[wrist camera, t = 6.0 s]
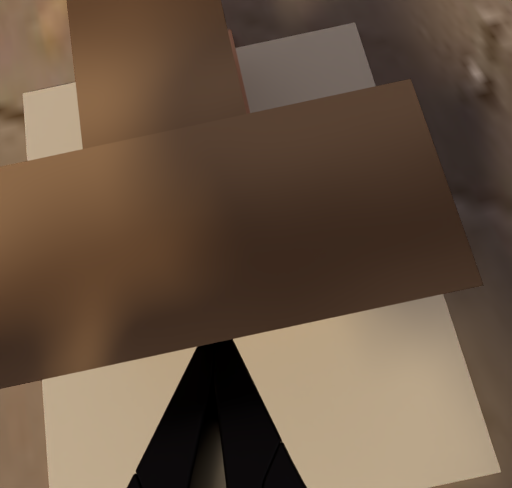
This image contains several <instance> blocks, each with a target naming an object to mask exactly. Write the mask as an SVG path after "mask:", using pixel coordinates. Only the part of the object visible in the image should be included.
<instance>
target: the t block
mask: <svg viewBox="0 0 512 488" xmlns="http://www.w3.org/2000/svg"><path fill="white" fill-rule="evenodd" d="M67 8H68V17H69V26H70V36H71V45H72V54H73V64H74V73H75V82H76V91H77V101H78V110H79V119H80V129H81V138H82V147H83V149H81V150H76V151H72V152H67V153H62V154H58V155H53V156H48V157H44V158H39V159H34V160H30V161H25V162H20V163H16V164H11V165H6V166H2V167H0V389H1V388H6V387H11V386H15V385H20V384H25V383H30V382H34V381H39V380H44V379H48V378H53V377H58V376H62V375H67V374H72V373H76V372H81V371H86V370H90V369H95V368H100V367H104V366H109V365H114V364H118V363H123V362H128V361H132V360H137V359H142V358H146V357H151V356H156V355H160V354H165V353H170V352H174V351H179V350H184V349H188V348H193V347H198V346H202V345H207V344H212V343H216V342H221V341H226V340H231V339H235V338H240V337H245V336H249V335H254V334H259V333H263V332H268V331H273V330H277V329H282V328H287V327H291V326H296V325H301V324H305V323H310V322H315V321H319V320H324V319H329V318H333V317H338V316H343V315H347V314H352V313H357V312H361V311H366V310H371V309H375V308H380V307H385V306H389V305H394V304H399V303H403V302H408V301H413V300H417V299H422V298H427V297H431V296H436V295H441V294H446V293H450V292H455V291H460V290H464V289H469V288H474V287H478V286H483V282H482V279H481V276H480V274H479V271H478V268H477V265H476V262H475V259H474V257H473V254H472V251H471V248H470V245H469V242H468V240H467V237H466V234H465V231H464V228H463V225H462V223H461V220H460V217H459V214H458V211H457V208H456V206H455V203H454V200H453V197H452V194H451V191H450V189H449V186H448V183H447V180H446V177H445V174H444V172H443V169H442V166H441V163H440V160H439V157H438V155H437V152H436V149H435V146H434V143H433V140H432V138H431V135H430V132H429V129H428V126H427V123H426V121H425V118H424V115H423V112H422V109H421V107H420V104H419V101H418V98H417V95H416V92H415V90H414V87H413V84H412V81H411V79H407V80H402V81H398V82H393V83H388V84H384V85H379V86H375V87H370V88H365V89H361V90H356V91H351V92H347V93H342V94H337V95H333V96H328V97H323V98H319V99H314V100H309V101H305V102H300V103H295V104H291V105H286V106H281V107H277V108H272V109H267V110H263V111H258V112H253V113H249V114H247V113H246V109H245V105H244V100H243V96H242V91H241V87H240V83H239V78H238V74H237V69H236V65H235V61H234V56H233V52H232V47H231V43H230V39H229V34H228V30H227V25H226V21H225V17H224V12H223V8H222V3H221V0H67Z"/></svg>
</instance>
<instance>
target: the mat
mask: <svg viewBox="0 0 512 488" xmlns="http://www.w3.org/2000/svg"><path fill="white" fill-rule="evenodd" d="M228 34H229V39H230V43H231V47H232V52H233V56H234V61H235V65H236V69H237V74H238V78H239V83H240V87H241V91H242V96H243V100H244V105H245V109H246V113H247V114H249V113H253V112H258V111H263V110H267V109H272V108H277V107H281V106H286V105H291V104H295V103H300V102H305V101H309V100H314V99H319V98H323V97H328V96H333V95H337V94H342V93H347V92H351V91H356V90H361V89H365V88H370V87H375V86H376V85H375V82H374V79H373V76H372V73H371V70H370V67H369V64H368V61H367V58H366V55H365V52H364V48H363V45H362V42H361V39H360V36H359V33H358V30H357V27H356V24H355V22H354V23H350V24H345V25H340V26H336V27H331V28H326V29H322V30H317V31H312V32H308V33H303V34H298V35H294V36H289V37H284V38H280V39H275V40H270V41H266V42H261V43H256V44H252V45H247V46H242V47H238V48H235V44H234V40H233V35H232V31H231V30H228ZM23 103H24V118H25V133H26V148H27V161H30V160H34V159H39V158H44V157H48V156H53V155H58V154H62V153H67V152H72V151H76V150H81V149H83V147H82V138H81V129H80V119H79V110H78V101H77V91H76V82H74V83H70V84H65V85H60V86H55V87H51V88H46V89H41V90H37V91H32V92H27V93H23ZM233 341H234V343H235V345H236V347H237V349H238V351H239V353H240V355H241V357H242V359H243V361H244V363H245V365H246V367H247V369H248V371H249V373H250V375H251V377H252V379H253V381H254V383H255V385H256V388H257V390H258V392H259V394H260V396H261V398H262V400H263V402H264V404H265V406H266V408H267V410H268V412H269V414H270V416H271V418H272V420H273V422H274V424H275V426H276V428H277V430H278V432H279V435H280V437H281V439H282V442H283V443H284V444H285V446H286V448H287V451H288V453H289V455H290V457H291V459H292V461H293V462H294V464H295V466H296V468H297V470H298V472H299V474H300V476H301V478H302V479H303V481H304V483H305V485H306V486H307V488H429V487H434V486H439V485H443V484H448V483H453V482H457V481H462V480H467V479H472V478H476V477H481V476H486V475H490V474H495V473H500V472H501V470H500V467H499V464H498V461H497V458H496V455H495V452H494V449H493V446H492V442H491V439H490V436H489V433H488V430H487V427H486V424H485V421H484V418H483V415H482V412H481V409H480V406H479V402H478V399H477V396H476V393H475V390H474V387H473V384H472V381H471V378H470V375H469V372H468V369H467V365H466V362H465V359H464V356H463V353H462V350H461V347H460V344H459V341H458V338H457V335H456V332H455V329H454V325H453V322H452V319H451V316H450V313H449V310H448V307H447V304H446V301H445V298H444V295H443V294H441V295H436V296H431V297H427V298H422V299H417V300H413V301H408V302H403V303H399V304H394V305H389V306H385V307H380V308H375V309H371V310H366V311H361V312H357V313H352V314H347V315H343V316H338V317H333V318H329V319H324V320H319V321H315V322H310V323H305V324H301V325H296V326H291V327H287V328H282V329H277V330H273V331H268V332H263V333H259V334H254V335H249V336H245V337H240V338H235V339H233ZM196 348H197V347H193V348H188V349H184V350H179V351H174V352H170V353H165V354H160V355H156V356H151V357H146V358H142V359H137V360H132V361H128V362H123V363H118V364H114V365H109V366H104V367H100V368H95V369H90V370H86V371H81V372H76V373H72V374H67V375H62V376H58V377H53V378H48V379H44V380H42V388H43V402H44V417H45V432H46V447H47V462H48V477H49V488H127V486H128V484H129V482H130V480H131V478H132V476H133V475H134V474H136V469H137V467H138V465H139V462H140V460H141V458H142V456H143V454H144V452H145V450H146V448H147V446H148V444H149V442H150V440H151V438H152V436H153V434H154V432H155V430H156V428H157V426H158V424H159V422H160V420H161V418H162V416H163V414H164V412H165V410H166V408H167V406H168V404H169V402H170V400H171V398H172V396H173V394H174V392H175V390H176V388H177V386H178V384H179V382H180V380H181V378H182V376H183V374H184V372H185V370H186V368H187V366H188V364H189V362H190V360H191V358H192V356H193V354H194V352H195V350H196Z"/></svg>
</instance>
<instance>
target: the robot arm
mask: <svg viewBox="0 0 512 488" xmlns="http://www.w3.org/2000/svg"><path fill="white" fill-rule="evenodd" d="M127 488H307V486H306V485H305V483H304V481H303V479H302V478H301V476H300V474H299V472H298V470H297V468H296V466H295V464H294V462H293V461H292V459H291V457H290V455H289V453H288V451H287V448H286V446H285V444H284V443H283V442H282V439H281V437H280V435H279V432H278V430H277V428H276V426H275V424H274V422H273V420H272V418H271V416H270V414H269V412H268V410H267V408H266V406H265V404H264V402H263V400H262V398H261V396H260V394H259V392H258V390H257V388H256V385H255V383H254V381H253V379H252V377H251V375H250V373H249V371H248V369H247V367H246V365H245V363H244V361H243V359H242V357H241V355H240V353H239V351H238V349H237V347H236V345H235V343H234V341H233V339H231V340H226V341H221V342H216V343H212V344H207V345H202V346H198V347H197V348H196V350H195V352H194V354H193V356H192V358H191V360H190V362H189V364H188V366H187V368H186V370H185V372H184V374H183V376H182V378H181V380H180V382H179V384H178V386H177V388H176V390H175V392H174V394H173V396H172V398H171V400H170V402H169V404H168V406H167V408H166V410H165V412H164V414H163V416H162V418H161V420H160V422H159V424H158V426H157V428H156V430H155V432H154V434H153V436H152V438H151V440H150V442H149V444H148V446H147V448H146V450H145V452H144V454H143V456H142V458H141V460H140V462H139V465H138V467H137V469H136V474H134V475H133V476H132V478H131V480H130V482H129V484H128V486H127Z"/></svg>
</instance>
